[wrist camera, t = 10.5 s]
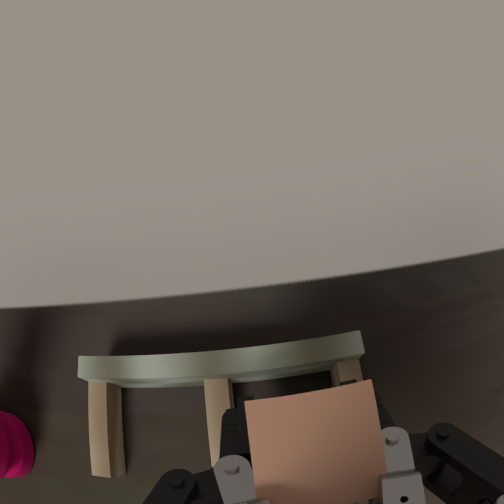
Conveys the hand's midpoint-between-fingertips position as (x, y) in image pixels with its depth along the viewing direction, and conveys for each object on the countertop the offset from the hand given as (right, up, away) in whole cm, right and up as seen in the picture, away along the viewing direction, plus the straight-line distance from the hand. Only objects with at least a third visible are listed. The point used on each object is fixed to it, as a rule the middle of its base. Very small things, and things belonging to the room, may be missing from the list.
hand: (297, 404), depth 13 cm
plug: (0, -4, +2) cm, 5 cm away
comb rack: (-4, -5, +6) cm, 9 cm away
